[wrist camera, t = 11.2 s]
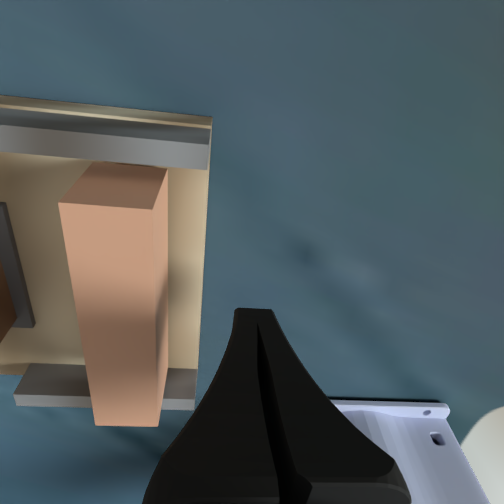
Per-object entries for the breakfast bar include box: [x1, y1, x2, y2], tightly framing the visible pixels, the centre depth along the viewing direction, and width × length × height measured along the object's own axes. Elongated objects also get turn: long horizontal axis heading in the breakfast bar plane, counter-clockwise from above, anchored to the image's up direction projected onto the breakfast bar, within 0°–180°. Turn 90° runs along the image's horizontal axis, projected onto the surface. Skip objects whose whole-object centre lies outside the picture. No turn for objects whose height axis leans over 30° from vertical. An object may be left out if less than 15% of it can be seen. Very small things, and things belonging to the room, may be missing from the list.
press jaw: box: [58, 162, 168, 427], centre depth 15 cm, size 2×10×3 cm, turn 173°
